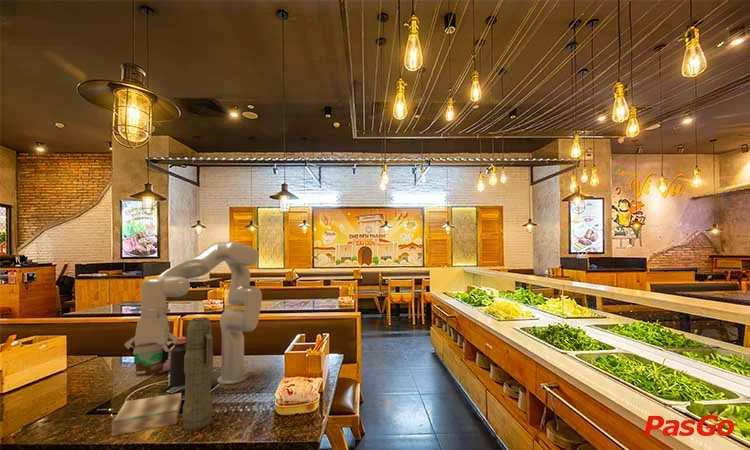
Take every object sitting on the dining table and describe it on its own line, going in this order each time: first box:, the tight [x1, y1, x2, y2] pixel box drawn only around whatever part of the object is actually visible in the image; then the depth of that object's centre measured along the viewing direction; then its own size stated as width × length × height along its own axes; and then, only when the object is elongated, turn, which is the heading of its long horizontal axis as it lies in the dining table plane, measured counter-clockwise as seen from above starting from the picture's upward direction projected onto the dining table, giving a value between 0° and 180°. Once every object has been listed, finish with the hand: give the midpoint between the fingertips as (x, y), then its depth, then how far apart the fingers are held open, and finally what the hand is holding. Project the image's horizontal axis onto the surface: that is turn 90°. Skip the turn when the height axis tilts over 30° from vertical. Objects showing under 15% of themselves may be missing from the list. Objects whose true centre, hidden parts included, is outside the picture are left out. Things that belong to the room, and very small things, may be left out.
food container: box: [132, 344, 164, 377], centre depth 126 cm, size 12×6×10 cm, turn 171°
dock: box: [111, 392, 182, 437], centre depth 124 cm, size 18×18×4 cm
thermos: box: [181, 317, 214, 431], centre depth 120 cm, size 9×12×35 cm
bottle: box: [169, 336, 186, 387], centre depth 157 cm, size 7×7×20 cm
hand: (151, 363), depth 125 cm, fingers closed on food container, 7 cm apart
